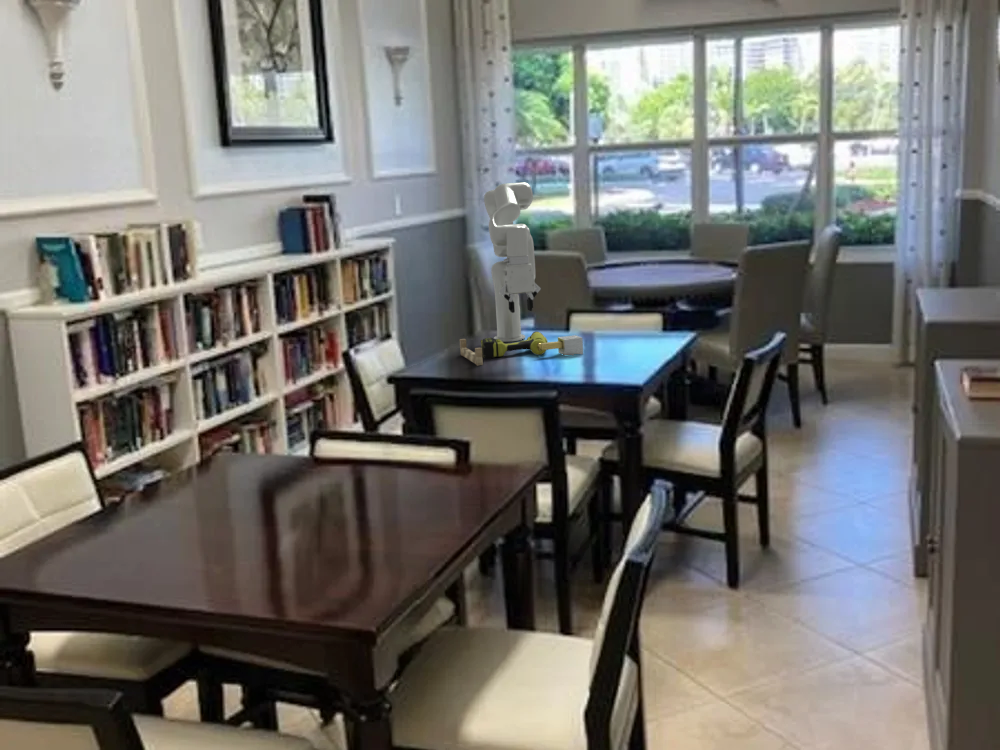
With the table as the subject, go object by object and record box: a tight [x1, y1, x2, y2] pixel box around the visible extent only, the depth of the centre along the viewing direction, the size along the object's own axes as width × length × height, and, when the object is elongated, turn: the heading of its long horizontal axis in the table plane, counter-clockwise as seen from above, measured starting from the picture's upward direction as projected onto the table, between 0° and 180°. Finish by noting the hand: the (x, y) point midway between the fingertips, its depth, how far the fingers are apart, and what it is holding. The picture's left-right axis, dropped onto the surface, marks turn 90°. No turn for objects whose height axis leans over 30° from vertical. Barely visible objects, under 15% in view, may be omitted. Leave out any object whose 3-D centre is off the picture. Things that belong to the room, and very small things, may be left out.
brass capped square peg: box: [537, 340, 563, 351], centre depth 380 cm, size 3×10×3 cm, turn 106°
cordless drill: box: [480, 330, 549, 360], centre depth 394 cm, size 7×25×25 cm
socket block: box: [557, 334, 584, 356], centre depth 382 cm, size 7×7×6 cm
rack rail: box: [459, 338, 484, 367], centre depth 382 cm, size 24×2×6 cm, turn 16°
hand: (521, 310), depth 375 cm, fingers open, 5 cm apart
